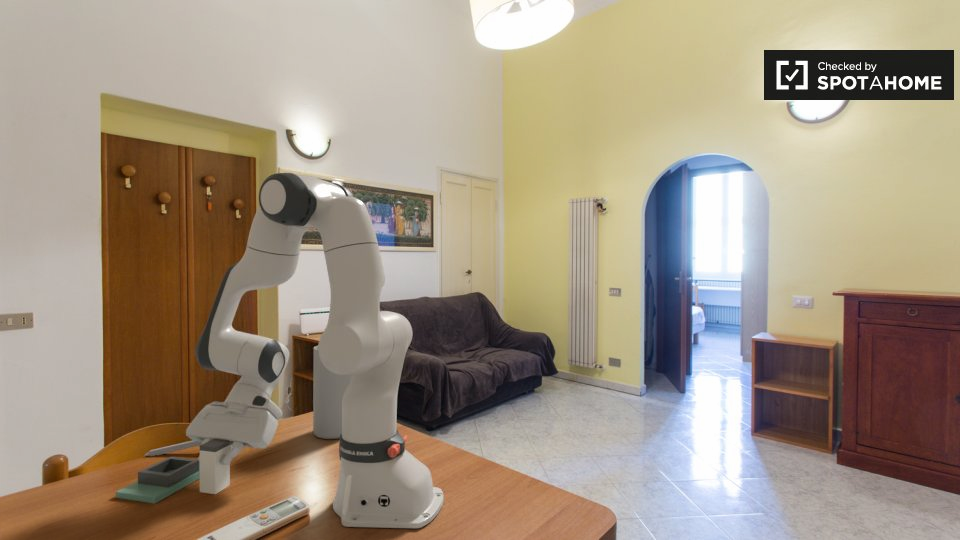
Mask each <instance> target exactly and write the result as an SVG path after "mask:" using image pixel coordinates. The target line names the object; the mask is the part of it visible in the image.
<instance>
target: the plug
mask: <svg viewBox="0 0 960 540" xmlns="http://www.w3.org/2000/svg"><path fill="white" fill-rule="evenodd" d="M229 451H230V441H228V440H219V439H213V440H211V441H209V442H206V443H204V444H202V445H200V446H199V455H200V461H199V462H200V478H199V493H204V494H211V495H216V494H218V493H220V492H221V491H223V490H224V489H227V488H228V487H229V486H230V483H231V481H230V480H231V471H230V469H231V465H230V464H231V463H230V464H229V465H228V466H227V465H221V464H220V463H219V460H220V459H221V456H222V455H223V454H227V453H228V452H229Z"/></svg>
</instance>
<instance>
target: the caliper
mask: <svg viewBox="0 0 960 540" xmlns="http://www.w3.org/2000/svg"><path fill="white" fill-rule="evenodd" d="M200 445H202V442H200V441H193V440H190V441H183V442H181V443H180V442H179V443H177V444H176V443H175V444H172V445H168V446H162V447H159V448H155V449H150V450H149V451H148V452H146V453H145V454H144V455H143V457H147V456H149V457H156V456H155V455H157V456H161V455H164V454H168V453H173V452H178V451H182V450H186V449H190V448H195V447H198V446H199V447H200ZM232 448H233V447H232V445H230V450H231V449H232Z"/></svg>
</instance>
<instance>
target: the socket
mask: <svg viewBox="0 0 960 540" xmlns="http://www.w3.org/2000/svg"><path fill="white" fill-rule="evenodd" d="M198 480H200V461H198V459H195V458H185V457H178V456H168V457H167V458H165V459H162V460H160V461H157V462H156V463H154V464H151V465H149V466H147V467H145V468H143V469H141V470H139V471H137V481H135V482H133V483H130V484H129V485H127V486H125V487H123V488H121V489H118V490H116V491H115V498H116V499H123V500H128V501H129V500H130V501H137V502H143V503H147V504H156V503H158V502H160V501H162V500H163V499H165V498H167V497H169V496H171V495H173V494H175V493H176V492H178V491H179V490H182V489H183V488H185V487H186V486H187V487H188V485H189V486H190V484H192V483H194V482H196V481H198Z"/></svg>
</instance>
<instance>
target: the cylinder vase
mask: <svg viewBox="0 0 960 540" xmlns="http://www.w3.org/2000/svg"><path fill="white" fill-rule="evenodd" d="M352 375H353V374H350V375H339V374H335V373H333V372H331V371H329V370H328V369H327V368H326V367H325V366H324V365H323V363H322V361H321V359H320V357H319V352H318V345H316V346H314V347H313V375H312V376H313V379H312V380H313V384H312V385H313V387H312V388H313V390H312V391H313V392H312V393H313V397H312V398H313V400H312V404H313V406H312V407H313V411H312V413H313V414H312V415H313V416H312V417H313V421H312V424H313V425H312V427H313V428H312V429H313V430H312V431H313V435H314V436H315V437H317V438H320V439H324V440H338V439H339V440H340V435H341V434H342V398H343V395H344V393H345V391H346V389H347V388H348V386H349V383H350V381H351V378H352Z"/></svg>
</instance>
